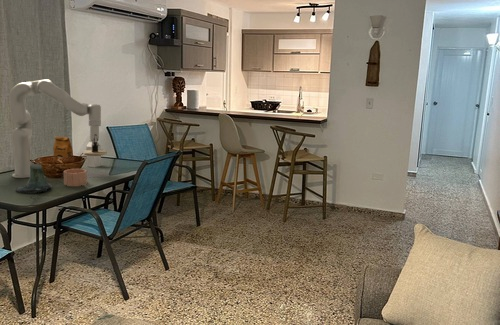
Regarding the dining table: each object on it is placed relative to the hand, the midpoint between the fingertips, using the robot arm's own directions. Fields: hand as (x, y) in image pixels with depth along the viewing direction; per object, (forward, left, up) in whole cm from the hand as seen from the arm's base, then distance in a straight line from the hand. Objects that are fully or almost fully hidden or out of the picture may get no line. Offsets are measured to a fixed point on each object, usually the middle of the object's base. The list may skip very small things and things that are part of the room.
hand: (94, 150), depth 291 cm
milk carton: (-28, +2, -17) cm, 33 cm away
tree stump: (+29, -36, -17) cm, 49 cm away
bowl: (+20, -13, -17) cm, 29 cm away
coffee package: (-28, -18, -17) cm, 38 cm away
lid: (0, 0, -2) cm, 2 cm away
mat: (0, +1, -17) cm, 17 cm away
